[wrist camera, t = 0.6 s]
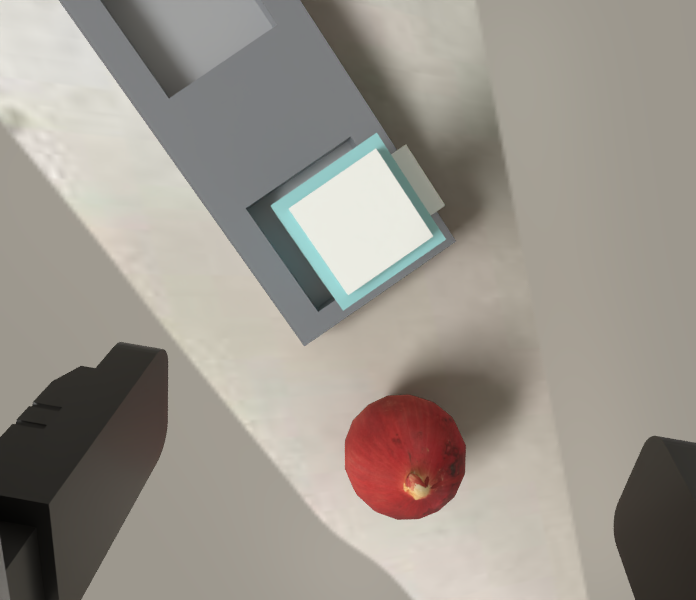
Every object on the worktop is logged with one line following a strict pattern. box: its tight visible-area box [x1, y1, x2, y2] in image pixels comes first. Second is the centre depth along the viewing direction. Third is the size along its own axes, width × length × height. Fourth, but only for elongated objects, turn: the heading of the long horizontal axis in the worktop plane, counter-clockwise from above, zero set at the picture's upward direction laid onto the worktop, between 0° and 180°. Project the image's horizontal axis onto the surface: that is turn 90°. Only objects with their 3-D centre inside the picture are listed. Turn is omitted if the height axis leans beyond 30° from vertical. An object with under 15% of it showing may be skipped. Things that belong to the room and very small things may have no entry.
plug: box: [271, 133, 446, 311], centre depth 26 cm, size 4×5×13 cm
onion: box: [345, 395, 466, 520], centre depth 30 cm, size 6×6×8 cm
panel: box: [59, 0, 456, 346], centre depth 31 cm, size 20×9×2 cm, turn 34°
